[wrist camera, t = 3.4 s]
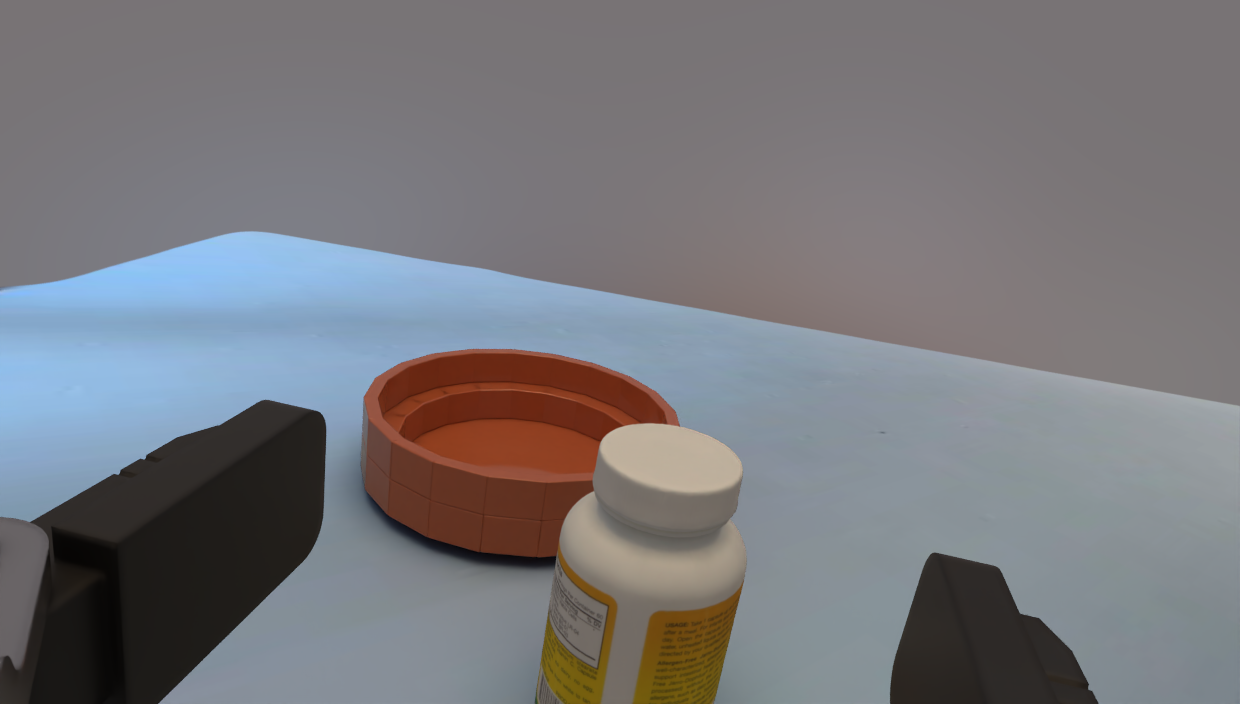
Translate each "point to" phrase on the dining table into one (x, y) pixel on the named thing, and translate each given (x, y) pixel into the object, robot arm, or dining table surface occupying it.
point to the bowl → (494, 443)
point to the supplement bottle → (646, 574)
